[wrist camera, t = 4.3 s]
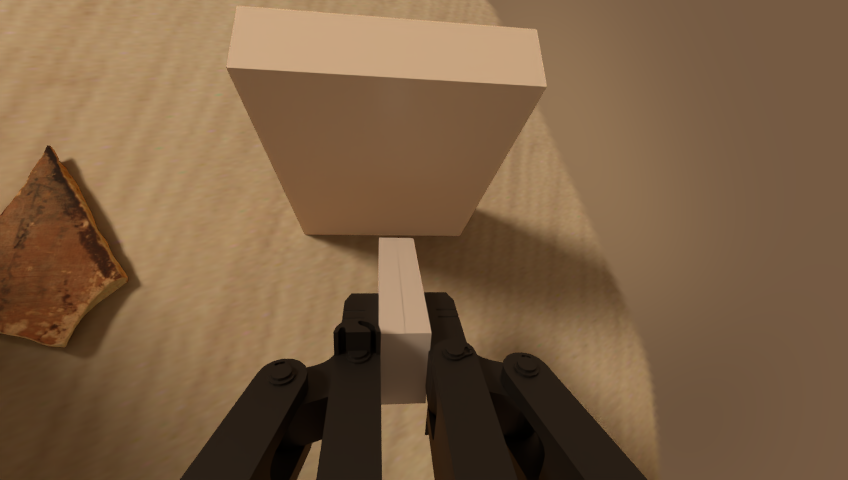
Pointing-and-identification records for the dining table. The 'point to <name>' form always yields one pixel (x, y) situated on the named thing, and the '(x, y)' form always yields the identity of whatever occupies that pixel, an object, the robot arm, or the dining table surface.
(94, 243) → the shard
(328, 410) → the robot arm
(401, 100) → the glazed tile
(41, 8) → the dining table surface
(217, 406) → the dining table surface
